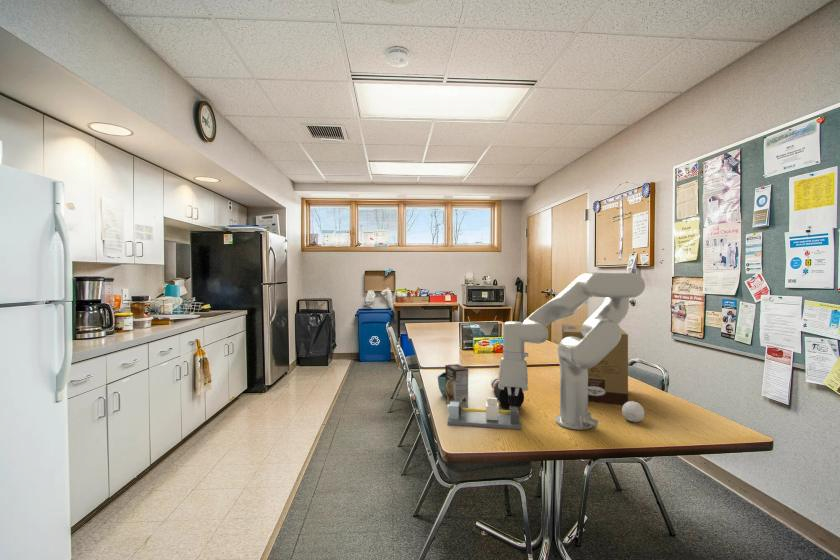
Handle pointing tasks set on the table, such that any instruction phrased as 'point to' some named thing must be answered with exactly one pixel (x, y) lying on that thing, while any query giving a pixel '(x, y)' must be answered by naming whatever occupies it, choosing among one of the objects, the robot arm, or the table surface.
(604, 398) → the cardboard box
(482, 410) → the fibre cord
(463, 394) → the coffee box
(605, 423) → the table surface
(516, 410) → the board
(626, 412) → the white textured egg
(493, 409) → the sleeve
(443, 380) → the flower pot
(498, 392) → the black cylinder
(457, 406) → the connector
